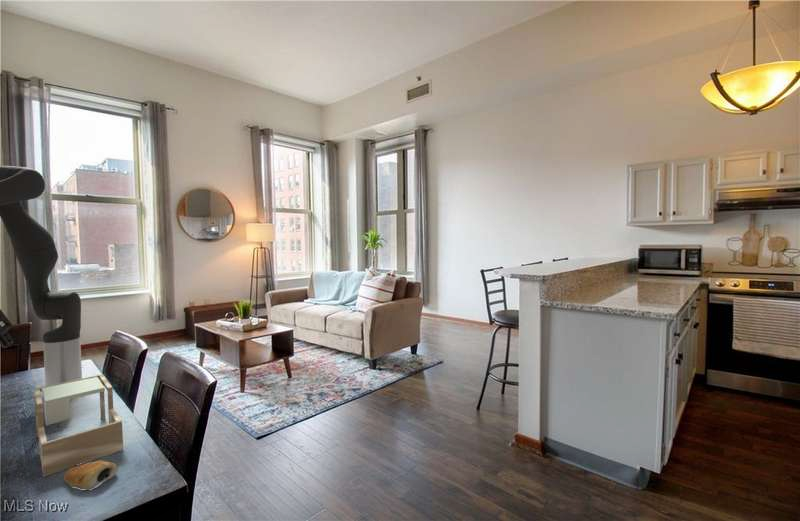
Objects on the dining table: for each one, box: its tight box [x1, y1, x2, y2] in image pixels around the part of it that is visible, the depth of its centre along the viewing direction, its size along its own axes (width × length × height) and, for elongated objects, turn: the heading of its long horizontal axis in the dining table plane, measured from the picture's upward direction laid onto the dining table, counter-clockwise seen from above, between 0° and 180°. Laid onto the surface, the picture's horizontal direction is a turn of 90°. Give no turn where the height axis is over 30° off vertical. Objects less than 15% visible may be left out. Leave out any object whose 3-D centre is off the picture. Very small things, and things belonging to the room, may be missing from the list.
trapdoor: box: [41, 377, 106, 405], centre depth 95 cm, size 11×11×1 cm
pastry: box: [63, 460, 118, 490], centre depth 77 cm, size 9×7×4 cm
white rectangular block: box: [43, 399, 71, 426], centre depth 104 cm, size 5×5×8 cm
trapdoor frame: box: [33, 374, 124, 478], centre depth 91 cm, size 24×14×12 cm, turn 47°
